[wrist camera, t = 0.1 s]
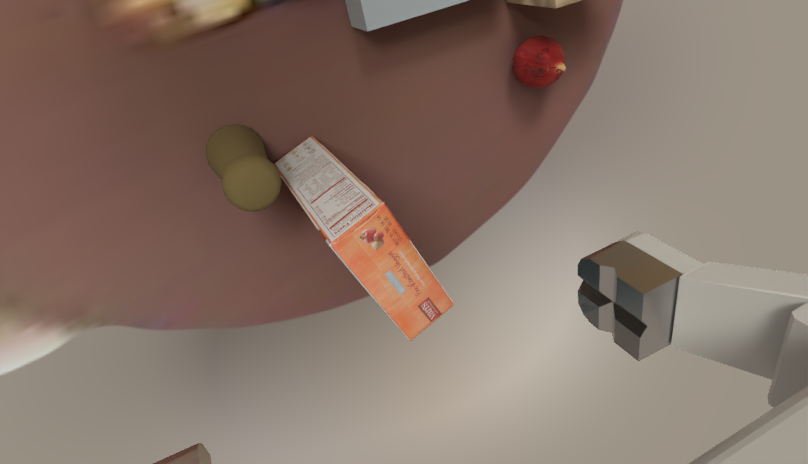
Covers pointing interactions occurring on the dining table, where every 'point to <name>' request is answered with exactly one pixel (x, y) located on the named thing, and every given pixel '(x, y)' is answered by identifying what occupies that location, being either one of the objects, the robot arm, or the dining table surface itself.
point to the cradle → (543, 2)
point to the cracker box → (364, 237)
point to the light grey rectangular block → (390, 11)
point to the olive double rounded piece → (243, 167)
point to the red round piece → (539, 62)
